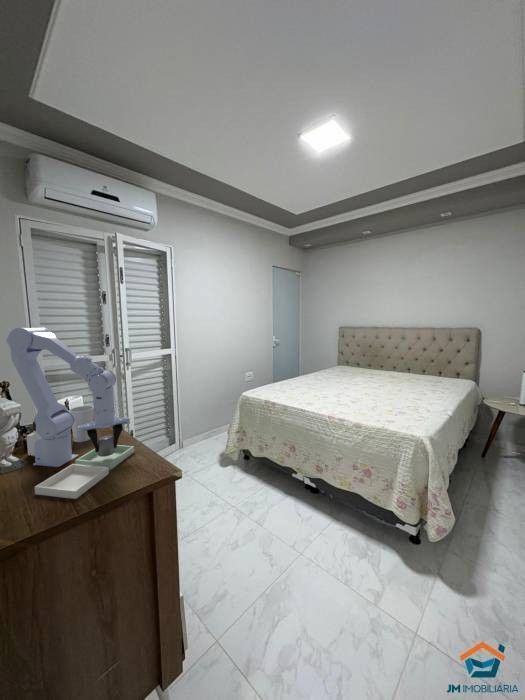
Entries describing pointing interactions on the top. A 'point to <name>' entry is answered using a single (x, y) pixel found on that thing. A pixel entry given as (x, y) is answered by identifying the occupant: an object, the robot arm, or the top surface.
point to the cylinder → (105, 446)
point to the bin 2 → (106, 457)
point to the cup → (81, 421)
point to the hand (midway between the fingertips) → (106, 449)
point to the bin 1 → (72, 481)
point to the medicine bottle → (32, 441)
